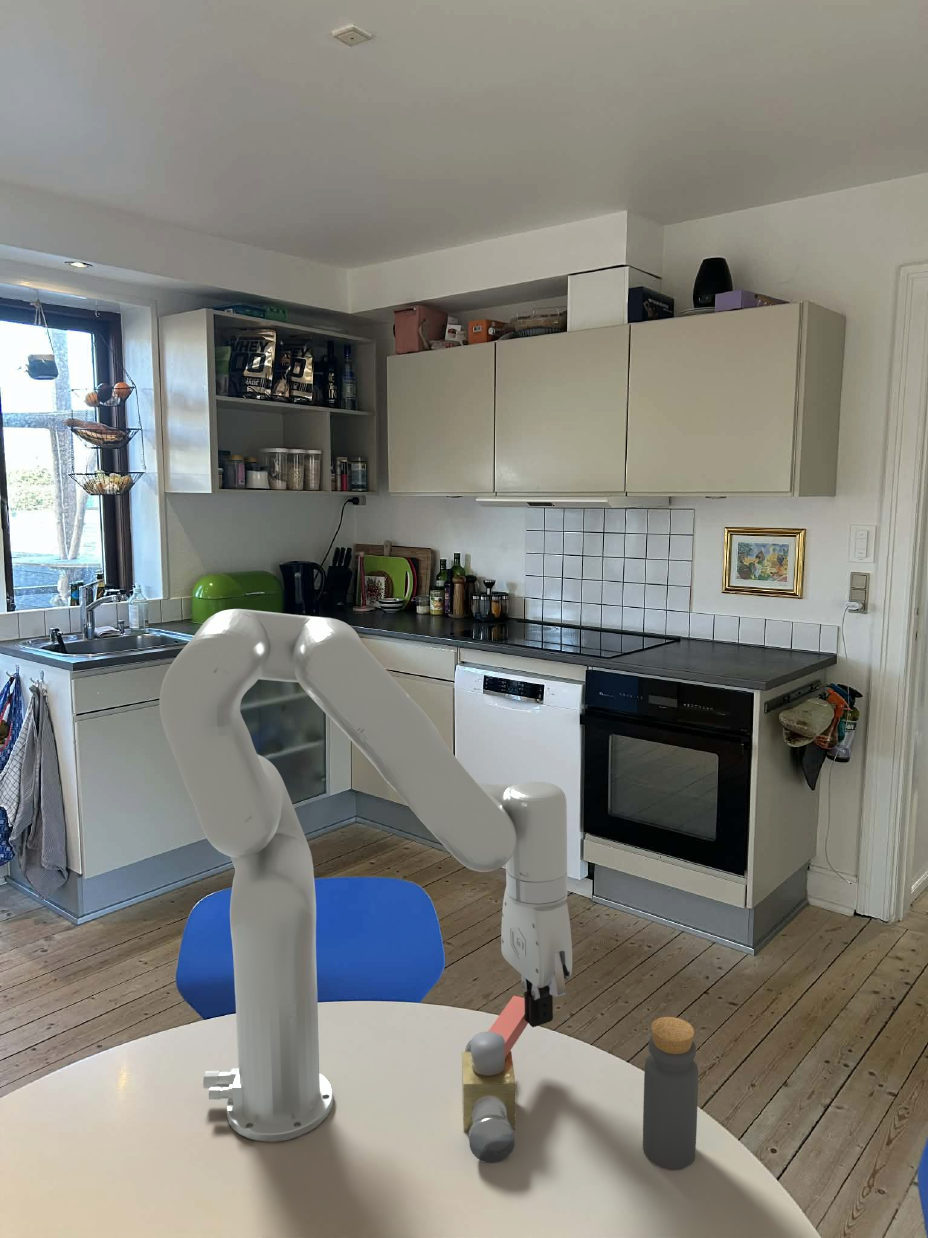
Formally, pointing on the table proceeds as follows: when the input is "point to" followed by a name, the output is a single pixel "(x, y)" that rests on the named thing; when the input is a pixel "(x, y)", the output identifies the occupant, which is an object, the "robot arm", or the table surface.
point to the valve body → (489, 1110)
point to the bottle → (670, 1095)
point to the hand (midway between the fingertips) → (538, 1021)
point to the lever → (498, 1039)
